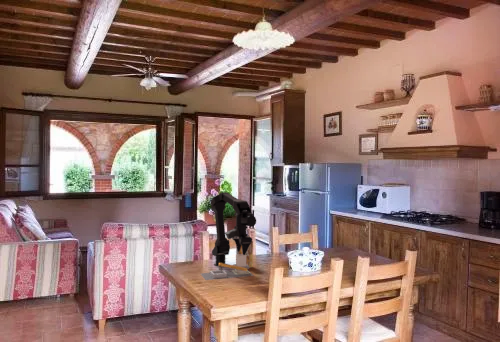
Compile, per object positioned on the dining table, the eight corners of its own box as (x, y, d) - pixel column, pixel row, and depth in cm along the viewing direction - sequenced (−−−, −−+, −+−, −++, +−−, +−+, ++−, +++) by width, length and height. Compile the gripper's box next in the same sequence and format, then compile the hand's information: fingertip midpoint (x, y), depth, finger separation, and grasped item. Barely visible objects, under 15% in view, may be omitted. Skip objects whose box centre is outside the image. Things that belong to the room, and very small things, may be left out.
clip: (217, 265, 231) (217, 263, 231) (220, 264, 232) (220, 262, 232) (245, 271, 219) (245, 268, 219) (247, 270, 221) (247, 267, 221)
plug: (232, 270, 233) (232, 254, 233) (245, 269, 236) (245, 253, 236) (236, 273, 227) (236, 256, 226) (249, 272, 229) (249, 256, 229)
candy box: (250, 265, 250) (250, 239, 249) (252, 267, 246) (253, 240, 245) (235, 266, 247) (236, 240, 246) (238, 268, 243) (238, 241, 242)
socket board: (200, 275, 228) (200, 267, 228) (246, 271, 237) (246, 263, 237) (205, 282, 216) (205, 273, 216) (254, 277, 225) (254, 269, 225)
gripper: (222, 222, 236) (222, 250, 237) (232, 227, 219) (232, 258, 219) (241, 221, 240) (241, 249, 241) (252, 226, 223) (252, 256, 223)
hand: (241, 253), depth 231 cm, fingers open, 9 cm apart
